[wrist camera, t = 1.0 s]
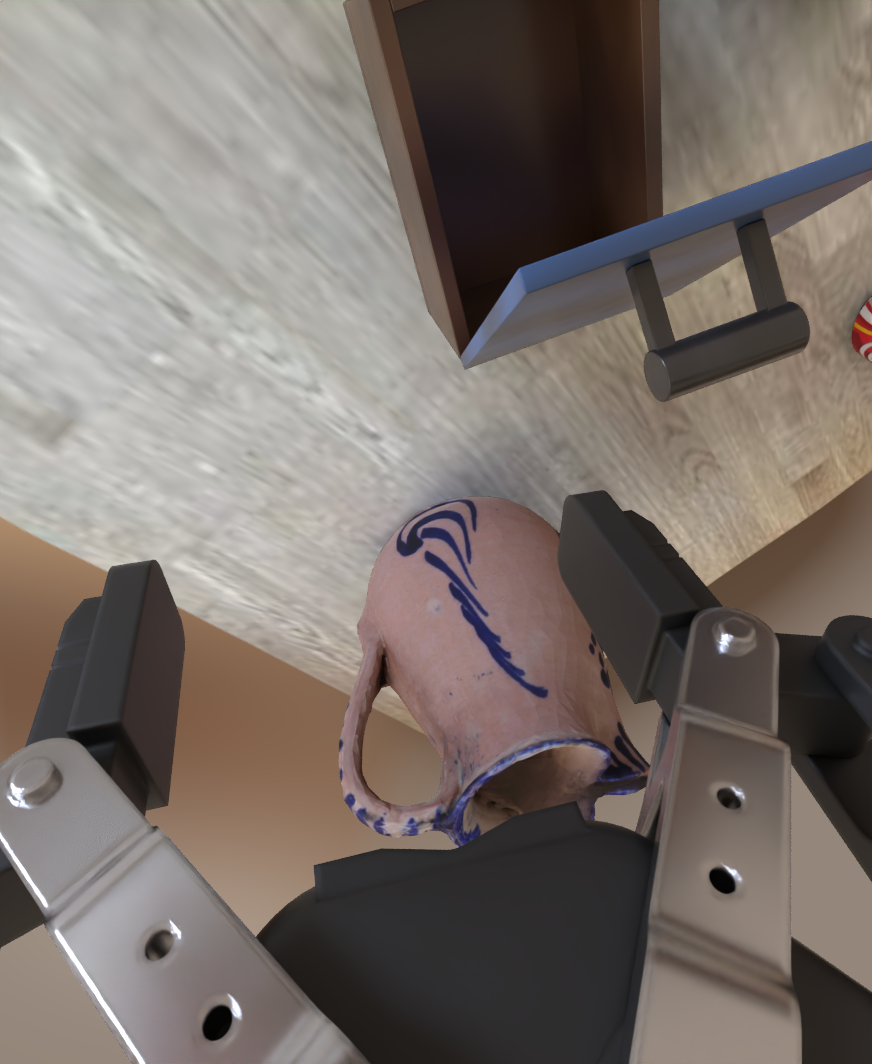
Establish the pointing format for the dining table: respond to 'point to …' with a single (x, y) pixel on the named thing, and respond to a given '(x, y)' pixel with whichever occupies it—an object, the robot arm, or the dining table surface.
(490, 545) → the ceramic pitcher
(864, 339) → the soda can
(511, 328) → the lid
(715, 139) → the dining table surface
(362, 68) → the storage box
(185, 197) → the dining table surface
